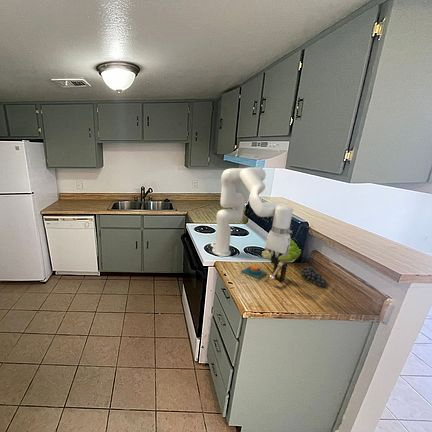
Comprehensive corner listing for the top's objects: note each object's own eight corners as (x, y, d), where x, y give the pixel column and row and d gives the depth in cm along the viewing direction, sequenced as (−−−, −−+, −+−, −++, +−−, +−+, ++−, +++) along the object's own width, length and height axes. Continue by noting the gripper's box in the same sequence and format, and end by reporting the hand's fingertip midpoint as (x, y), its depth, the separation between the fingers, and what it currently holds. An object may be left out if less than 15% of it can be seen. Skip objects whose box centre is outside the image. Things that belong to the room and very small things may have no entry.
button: (249, 269, 140) (249, 266, 140) (252, 267, 143) (253, 264, 142) (255, 272, 137) (256, 269, 137) (259, 269, 140) (259, 267, 139)
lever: (273, 283, 127) (273, 279, 125) (267, 280, 129) (267, 276, 127) (285, 266, 132) (284, 262, 130) (278, 264, 134) (278, 260, 133)
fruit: (333, 275, 123) (308, 261, 137) (319, 281, 123) (296, 267, 137) (333, 288, 126) (309, 274, 140) (320, 294, 126) (297, 279, 140)
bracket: (281, 288, 128) (285, 268, 124) (264, 281, 134) (267, 262, 131) (290, 281, 135) (294, 262, 132) (274, 275, 142) (277, 256, 138)
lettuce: (269, 270, 154) (258, 261, 170) (308, 260, 152) (294, 251, 168) (264, 249, 152) (254, 241, 167) (304, 238, 150) (290, 231, 165)
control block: (240, 274, 142) (241, 268, 141) (249, 269, 148) (250, 263, 147) (257, 281, 134) (258, 275, 133) (266, 275, 140) (267, 269, 139)
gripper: (299, 232, 117) (292, 266, 122) (268, 224, 128) (263, 255, 133) (293, 236, 112) (285, 270, 118) (261, 227, 124) (256, 259, 129)
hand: (273, 262), depth 126 cm, fingers closed
